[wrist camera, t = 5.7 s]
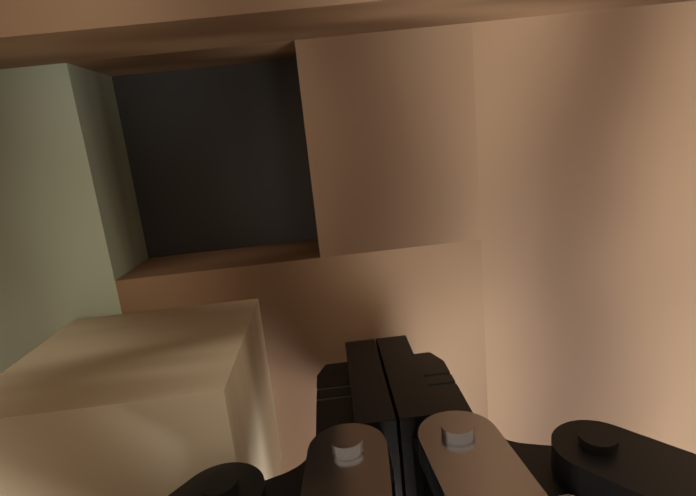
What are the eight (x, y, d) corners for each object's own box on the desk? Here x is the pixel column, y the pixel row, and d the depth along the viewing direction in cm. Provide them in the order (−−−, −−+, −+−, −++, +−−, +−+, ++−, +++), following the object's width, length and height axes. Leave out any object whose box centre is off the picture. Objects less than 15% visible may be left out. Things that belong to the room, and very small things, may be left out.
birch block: (258, 298, 12) (223, 390, 7) (282, 456, 13) (263, 620, 8) (74, 319, 12) (-73, 427, 7) (113, 478, 13) (4, 656, 8)
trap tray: (657, -16, 13) (857, -110, 8) (636, 532, 17) (761, 688, 12) (-86, 57, 12) (-347, 3, 8) (73, 607, 16) (-31, 802, 12)
